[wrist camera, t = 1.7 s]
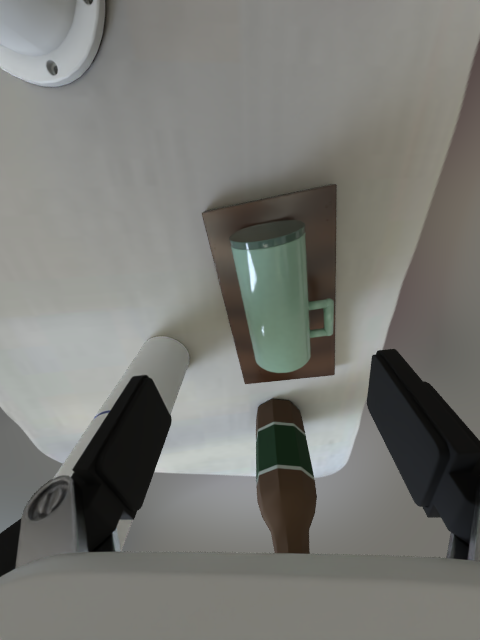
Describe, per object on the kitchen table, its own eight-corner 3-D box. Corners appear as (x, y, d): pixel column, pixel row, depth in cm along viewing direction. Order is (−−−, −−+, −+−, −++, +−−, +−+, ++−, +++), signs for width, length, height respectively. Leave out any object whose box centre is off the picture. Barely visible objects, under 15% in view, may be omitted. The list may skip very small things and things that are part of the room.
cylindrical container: (189, 339, 33) (71, 626, 12) (189, 375, 37) (100, 646, 15) (139, 333, 33) (-71, 611, 12) (144, 370, 37) (-8, 635, 15)
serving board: (204, 211, 25) (201, 212, 23) (332, 183, 23) (336, 184, 22) (245, 377, 36) (245, 384, 35) (331, 368, 35) (334, 375, 33)
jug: (254, 339, 31) (231, 229, 24) (325, 329, 30) (324, 210, 22) (254, 376, 25) (225, 247, 18) (342, 366, 24) (349, 224, 17)
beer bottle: (309, 407, 39) (371, 657, 19) (285, 431, 43) (313, 663, 22) (269, 391, 38) (287, 643, 17) (247, 418, 41) (240, 651, 21)
